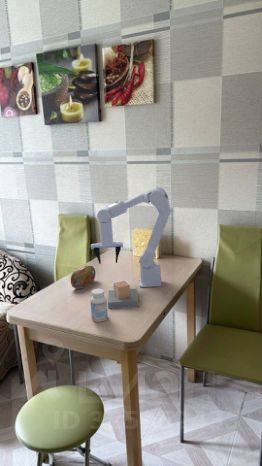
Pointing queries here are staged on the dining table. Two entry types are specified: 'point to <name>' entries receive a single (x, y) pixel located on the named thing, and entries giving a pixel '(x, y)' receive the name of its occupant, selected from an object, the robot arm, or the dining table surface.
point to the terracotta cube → (121, 289)
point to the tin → (83, 277)
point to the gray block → (123, 300)
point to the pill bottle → (98, 305)
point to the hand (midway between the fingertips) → (108, 262)
